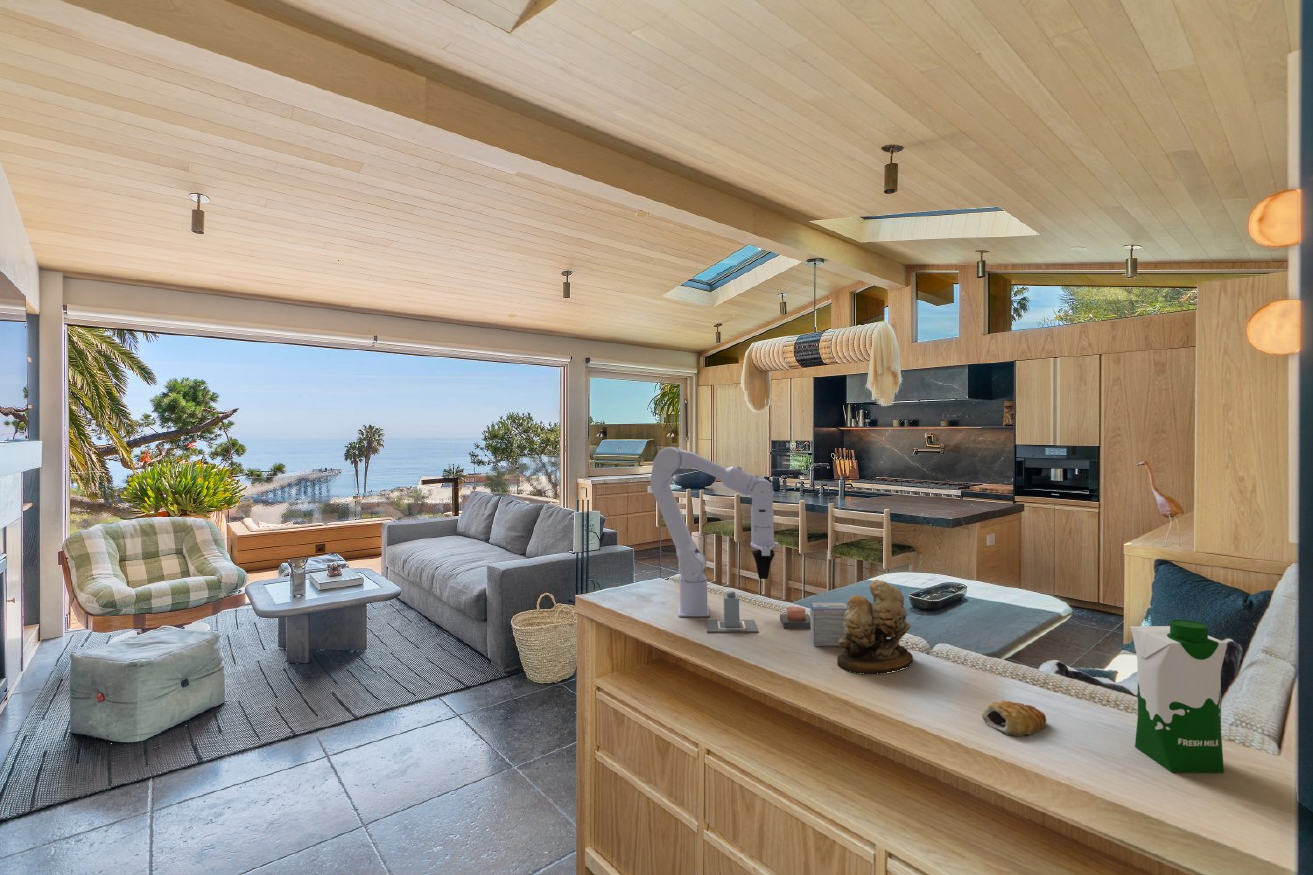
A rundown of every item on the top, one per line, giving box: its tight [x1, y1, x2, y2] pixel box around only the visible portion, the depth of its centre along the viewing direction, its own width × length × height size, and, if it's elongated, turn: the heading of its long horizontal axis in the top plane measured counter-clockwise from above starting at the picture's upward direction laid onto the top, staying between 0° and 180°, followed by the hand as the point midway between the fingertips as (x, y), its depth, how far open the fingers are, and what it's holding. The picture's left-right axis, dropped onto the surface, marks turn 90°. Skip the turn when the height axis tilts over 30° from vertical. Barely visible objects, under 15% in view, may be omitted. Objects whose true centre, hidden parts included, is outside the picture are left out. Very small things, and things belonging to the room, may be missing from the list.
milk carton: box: [1130, 619, 1228, 774], centre depth 90 cm, size 9×9×20 cm
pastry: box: [981, 700, 1047, 737], centre depth 101 cm, size 9×7×4 cm
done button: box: [786, 606, 806, 621], centre depth 155 cm, size 4×4×2 cm
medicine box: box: [809, 602, 847, 647], centre depth 141 cm, size 8×4×9 cm, turn 84°
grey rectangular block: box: [723, 590, 740, 627], centre depth 154 cm, size 4×4×8 cm
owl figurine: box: [836, 579, 914, 675], centre depth 129 cm, size 18×12×17 cm, turn 120°
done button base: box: [779, 613, 811, 630], centre depth 155 cm, size 7×7×2 cm
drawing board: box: [705, 619, 759, 634], centre depth 154 cm, size 9×12×1 cm
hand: (763, 578), depth 163 cm, fingers closed
